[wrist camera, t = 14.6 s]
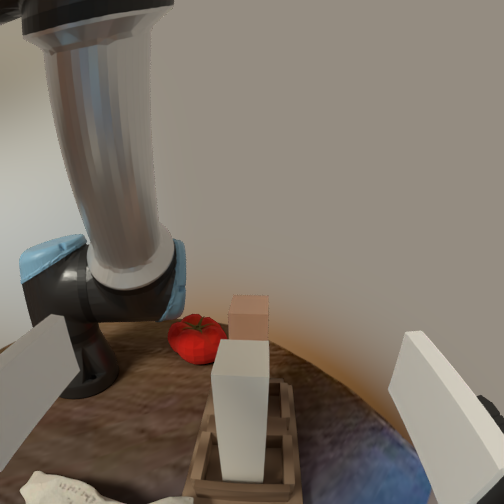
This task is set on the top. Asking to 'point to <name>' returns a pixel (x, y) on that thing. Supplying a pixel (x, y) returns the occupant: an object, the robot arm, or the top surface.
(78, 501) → the rock
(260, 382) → the white rectangular block
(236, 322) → the salmon orange block
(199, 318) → the tomato
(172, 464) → the top surface
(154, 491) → the top surface
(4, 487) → the top surface
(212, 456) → the rack
